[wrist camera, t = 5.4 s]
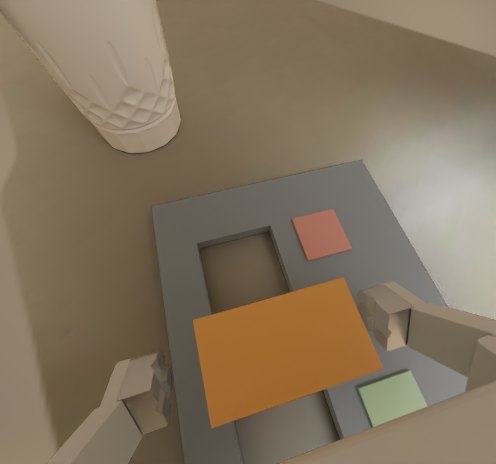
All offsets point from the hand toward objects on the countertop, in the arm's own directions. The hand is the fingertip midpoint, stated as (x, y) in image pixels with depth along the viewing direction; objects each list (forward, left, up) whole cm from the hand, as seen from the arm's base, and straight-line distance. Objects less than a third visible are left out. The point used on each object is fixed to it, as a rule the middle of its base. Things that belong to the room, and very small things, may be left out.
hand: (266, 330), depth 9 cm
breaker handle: (0, 0, -5) cm, 5 cm away
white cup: (-14, -14, -5) cm, 20 cm away
